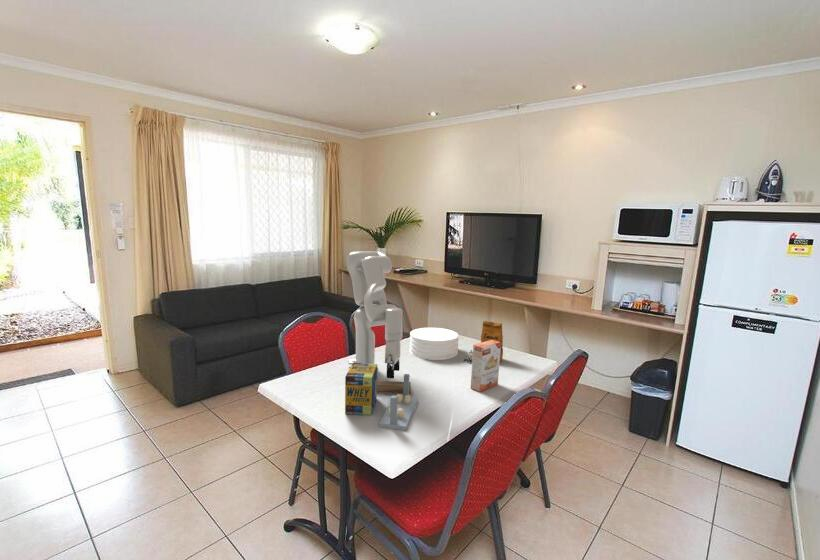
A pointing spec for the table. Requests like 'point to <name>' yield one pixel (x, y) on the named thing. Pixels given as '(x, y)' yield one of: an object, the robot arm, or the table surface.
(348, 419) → the table surface
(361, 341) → the robot arm
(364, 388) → the protein box
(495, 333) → the coffee package
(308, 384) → the table surface
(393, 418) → the stand
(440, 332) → the plate stack
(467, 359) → the house of cards
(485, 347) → the cracker box
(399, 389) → the board
